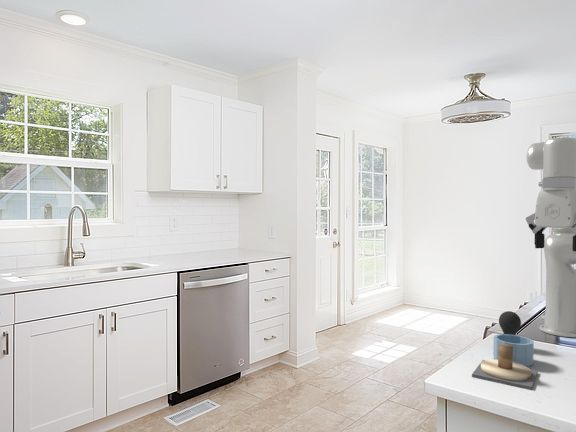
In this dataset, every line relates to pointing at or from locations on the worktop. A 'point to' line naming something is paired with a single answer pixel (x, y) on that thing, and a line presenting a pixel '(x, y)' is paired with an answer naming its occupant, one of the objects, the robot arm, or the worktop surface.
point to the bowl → (516, 348)
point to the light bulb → (509, 322)
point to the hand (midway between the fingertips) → (557, 249)
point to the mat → (523, 384)
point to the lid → (505, 366)
